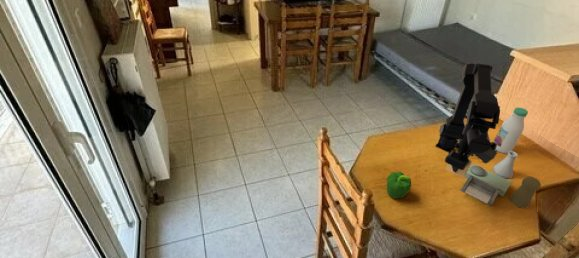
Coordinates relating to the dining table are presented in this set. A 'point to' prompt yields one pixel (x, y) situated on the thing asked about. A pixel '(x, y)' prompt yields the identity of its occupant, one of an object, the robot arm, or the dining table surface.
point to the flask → (506, 166)
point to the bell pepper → (398, 184)
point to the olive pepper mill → (525, 192)
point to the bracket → (480, 190)
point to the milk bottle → (510, 131)
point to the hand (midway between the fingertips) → (457, 168)
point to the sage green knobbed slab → (489, 178)
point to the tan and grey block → (459, 172)
